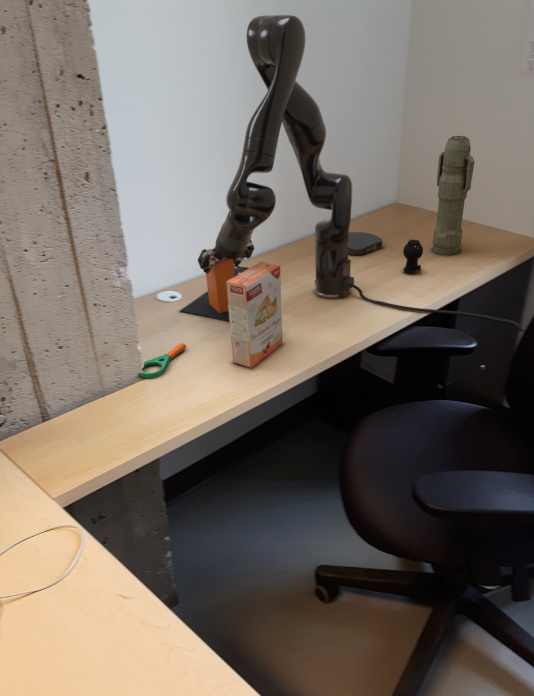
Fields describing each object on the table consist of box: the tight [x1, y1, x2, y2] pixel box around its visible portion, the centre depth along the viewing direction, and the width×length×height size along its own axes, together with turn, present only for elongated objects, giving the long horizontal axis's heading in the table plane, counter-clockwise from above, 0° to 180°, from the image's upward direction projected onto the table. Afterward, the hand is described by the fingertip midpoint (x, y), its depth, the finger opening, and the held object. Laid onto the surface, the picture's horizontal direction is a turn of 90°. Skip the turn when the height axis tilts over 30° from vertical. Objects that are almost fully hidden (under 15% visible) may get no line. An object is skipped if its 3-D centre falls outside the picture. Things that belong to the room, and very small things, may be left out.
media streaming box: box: [348, 231, 383, 256], centre depth 203 cm, size 15×15×3 cm
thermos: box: [432, 135, 475, 256], centre depth 187 cm, size 9×12×35 cm
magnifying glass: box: [138, 342, 187, 379], centre depth 142 cm, size 15×6×2 cm, turn 150°
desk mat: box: [179, 291, 230, 323], centre depth 167 cm, size 20×14×1 cm
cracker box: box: [226, 261, 283, 369], centre depth 139 cm, size 14×6×21 cm, turn 148°
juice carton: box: [205, 247, 235, 313], centre depth 162 cm, size 17×6×8 cm
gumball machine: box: [402, 237, 424, 275], centre depth 180 cm, size 7×6×10 cm
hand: (220, 267), depth 160 cm, fingers open, 8 cm apart
